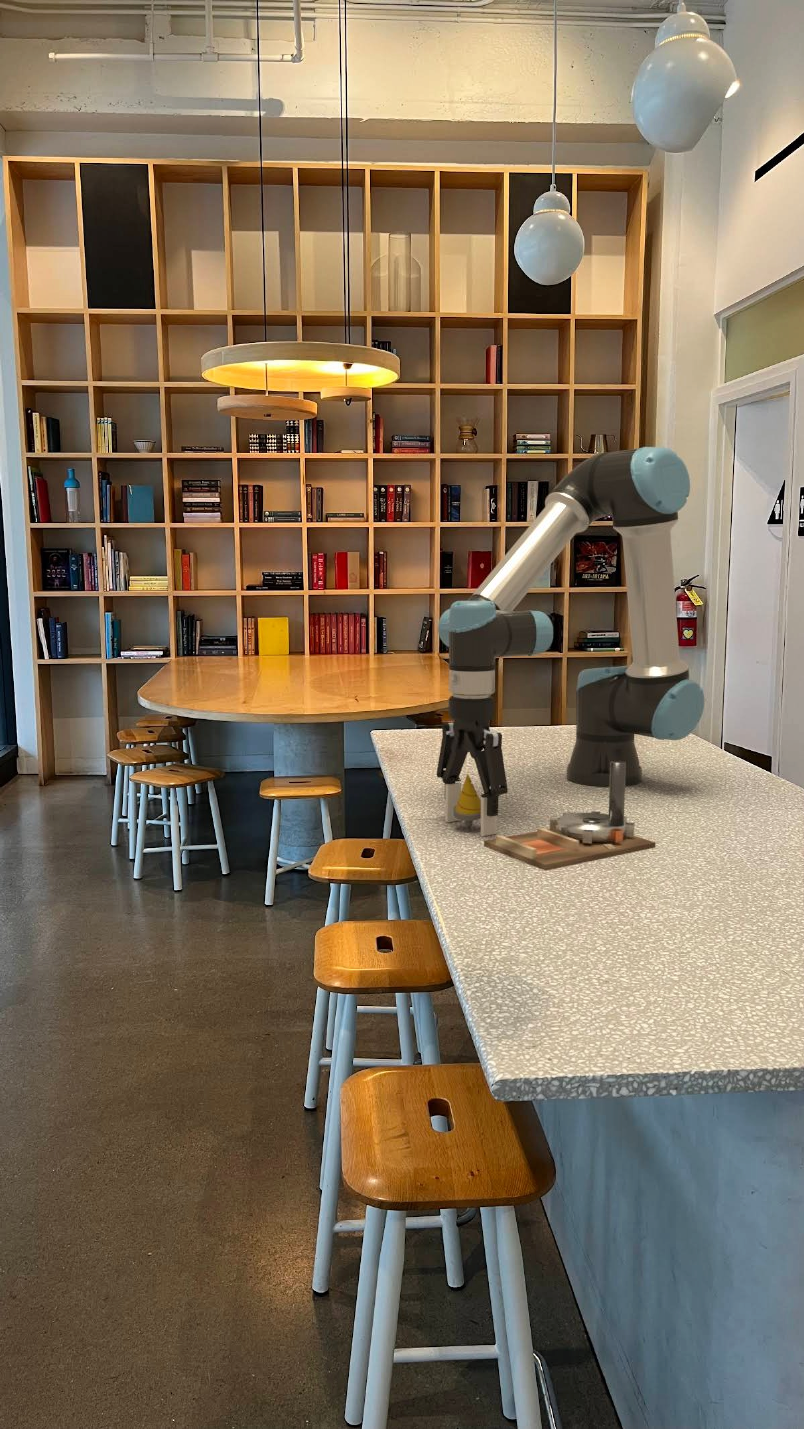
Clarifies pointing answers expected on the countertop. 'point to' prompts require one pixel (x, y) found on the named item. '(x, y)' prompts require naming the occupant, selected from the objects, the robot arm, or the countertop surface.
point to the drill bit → (468, 804)
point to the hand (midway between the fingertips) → (470, 827)
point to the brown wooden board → (561, 848)
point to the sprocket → (599, 815)
